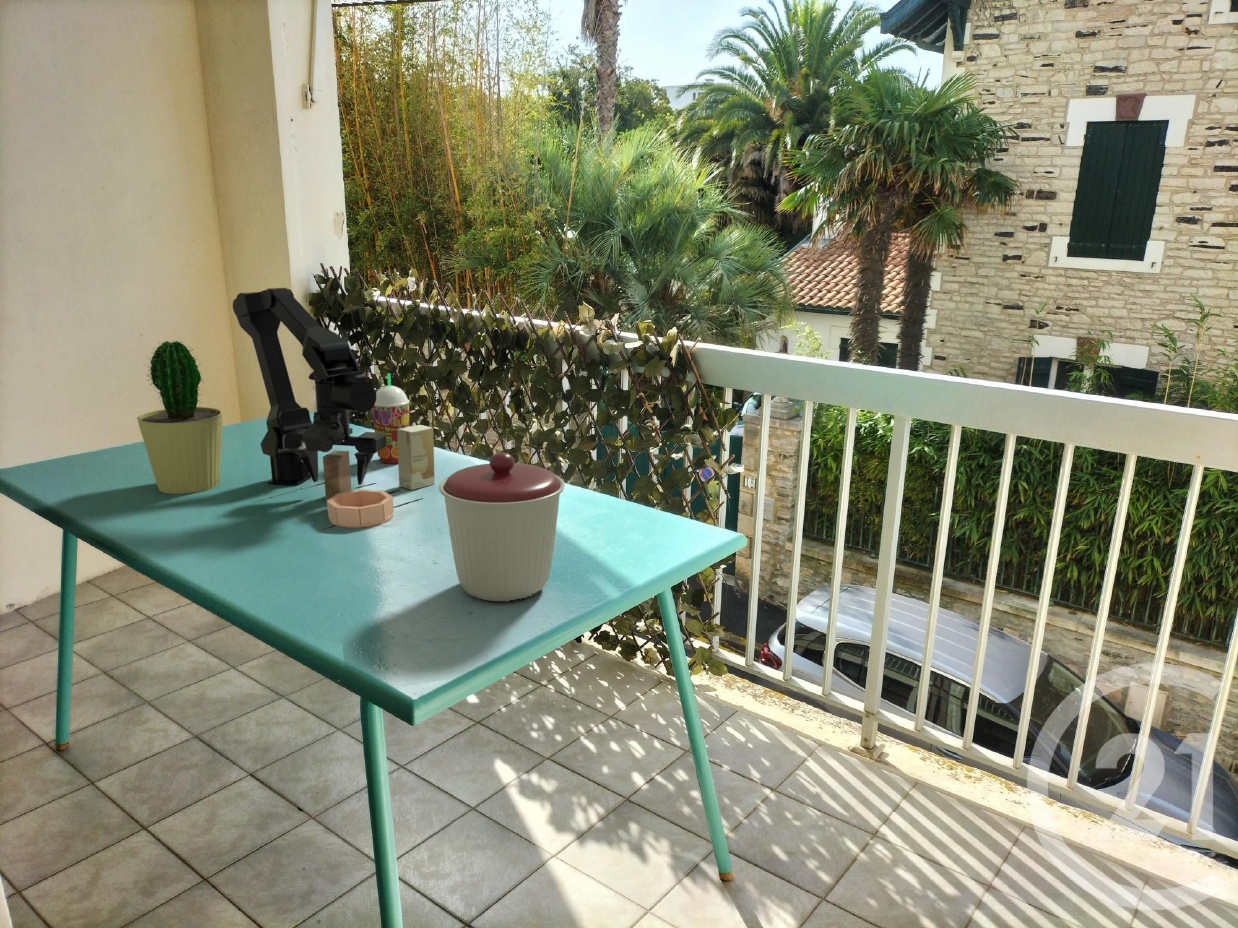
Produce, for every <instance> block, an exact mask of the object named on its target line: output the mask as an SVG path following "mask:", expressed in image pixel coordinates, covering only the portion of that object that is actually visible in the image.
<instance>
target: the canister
mask: <svg viewBox="0 0 1238 928" xmlns="http://www.w3.org/2000/svg"><path fill="white" fill-rule="evenodd" d="M564 489H565V482H564V480H563V479H562V478H561V477H560V476H558V475H556V474H555V473H553V472H551V471H550V470H548V469H545V468H544V467H540V466H537V465H534V464H528V463H519V462H517V463H516V462H515V459H514V457H513V456H512V455H511V454H510V453H508V452H503V451H502V452H497V453H494V454H493V455H492V456H491V457H490V458H489V463H483V464H477V465H473V466H472V465H471V466H468V467H465V468H464V467H463V469H460V470H457V471H455V472H453V473H452V474H451V475H449V476H448V477H446V478H444V479H443V480H442V481H441V482H440V484H439V485H438V490H439V492H440V495H442V496H443V497H444V504H445V511H446V516H447V524H448V530H449V536H450V537H449V538H450V545H451V550H452V554H453V560H454V565H455V571H456V572H455V573H456V575H457V579H458V582H459V584H460V586H461V587H462V589H463V590H464V591H465V592H466V593H467V594H468V595H470V596H472V597H474V598H477V599H481V600H483V601H488V602H500V601H502V602H509V601H508V600H514V601H516V600H515V599H520V600H522V599H521V598H524V597H526V598H528V597H527V596H530V595H531V596H533V595H532V594H534V595H536V594H537V592H538V591H539V592H540V591H541V590H542V589H544V587H545V585H546V584H547V582H548V580H549V578H550V577H549V576H550V573H551V567H552V562H553V555H554V550H555V549H554V548H555V540H556V531H557V524H558V523H557V522H558V514H559V508H560V507H559V504H560V495H561V494H562V492H563V491H564ZM539 592H538V593H539ZM535 593H536V594H535ZM531 596H530V597H531ZM524 599H525V598H524Z"/></svg>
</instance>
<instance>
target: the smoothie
mask: <svg viewBox="0 0 1238 928" xmlns="http://www.w3.org/2000/svg"><path fill="white" fill-rule="evenodd" d="M386 375H387V385H384V386H382V387H381V388H379V389H378V390H376V391H375V392H376V402H375V404H374V406H373V408H372V409H371V412H372V420H373V427H374V432H378V433H383V434H384V436H385V437H386V445H387V446H386V447H384V448H383V449H381V450H380V451H378V452H376V453H377V456H378V457H379V459H380V462H382V463H383V462H384V464H390V463H391V464H392V463H394V464H398V435H397V429H401V428H406V427H410V400H409V398H408V395H406V393H405V392H404V391H403V390H402V388H400V387H398V386H395V385H392V383H391V382H392V379H391V373H388V372H387V374H386Z"/></svg>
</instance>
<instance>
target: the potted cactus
mask: <svg viewBox="0 0 1238 928" xmlns="http://www.w3.org/2000/svg"><path fill="white" fill-rule="evenodd" d="M158 344H159V346H158V347H157V346H155V347H153V350H152V351H154V352H151V354H152V357H150V358H147V360H148V361H150V364H148V366H146V368H148V372H150V373H149V374H146V377H147V378H149V379H147V380H146V382H149V381H150V382H151V383H150V382H149V383H148V384H150V385H153V386H154V388H156V389H155V391H157V390H158V392H157V394H159V396H158V397H159V398H157V400H158V399H160V398H161V400H160V401H162V403H161V406H162V405H163V408H161V409H155V410H151V411H147V412H144V413H142V414H139V415H138V416H137V417H136V419H137V423H138V428H139V431H140V434H141V437H142V440H143V443H144V446H145V450H146V453H147V456H148V460H149V463H150V467H151V470H152V472H153V473H152V474H153V476H154V479H155V482H156V486H157V489H158V491H160V492H162V493H165V494H172V495H173V494H174V495H175V494H176V495H181V494H191V493H192V494H193V493H198V492H204V491H207V490H211V489H214V488H216V487H217V486H219V484H220V480H221V478H220V477H221V459H222V458H221V457H222V441H223V439H222V438H223V416H224V415H223V414H224V410H223V409H220V408H216V407H209V406H198V403H200V400H199V396H202V394H201V393H200V394H199V391H202V389H201V388H200V387H199V385H200V383H202V384H204V381H203V378H202V376H201V372H200V370H199V367H200V365H201V363H199V364H198V365H197V363H196V362H197V359H196V356H193V354H192V351H193V349H191V347H187V346H190V345H189V344H187V346H186V345H185V343H182V342H181V341H178V340H174V341H168V340H167V341H163V342H160V341H158ZM160 401H158V403H160ZM201 403H203V404H204V402H202V401H201Z"/></svg>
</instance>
